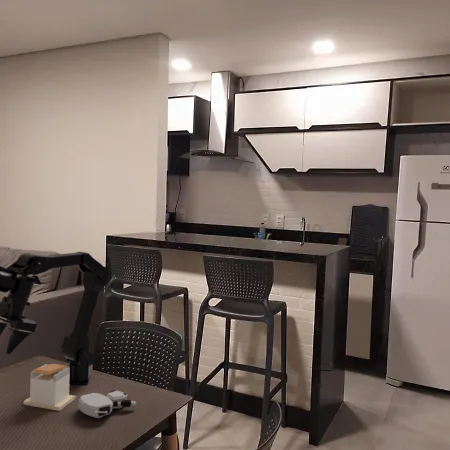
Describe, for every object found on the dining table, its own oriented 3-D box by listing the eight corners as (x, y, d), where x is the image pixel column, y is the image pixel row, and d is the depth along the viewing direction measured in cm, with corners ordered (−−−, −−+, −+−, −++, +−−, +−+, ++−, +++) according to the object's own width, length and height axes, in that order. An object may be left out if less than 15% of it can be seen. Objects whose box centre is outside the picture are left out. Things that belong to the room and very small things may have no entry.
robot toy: (116, 398, 138) (70, 409, 127) (117, 384, 138) (72, 394, 127) (138, 413, 130) (91, 426, 119) (139, 398, 130) (93, 409, 119)
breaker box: (40, 393, 137) (41, 362, 137) (75, 398, 134) (75, 367, 134) (23, 404, 129) (24, 372, 129) (59, 410, 127) (60, 377, 126)
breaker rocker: (52, 369, 136) (53, 363, 136) (65, 371, 135) (66, 365, 135) (33, 375, 128) (34, 369, 128) (48, 377, 126) (48, 371, 127)
